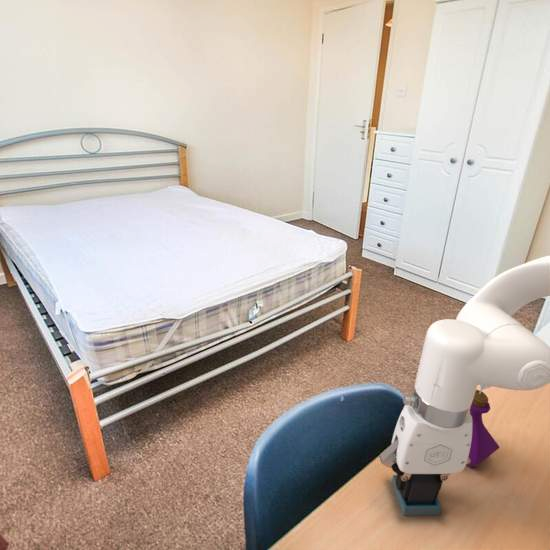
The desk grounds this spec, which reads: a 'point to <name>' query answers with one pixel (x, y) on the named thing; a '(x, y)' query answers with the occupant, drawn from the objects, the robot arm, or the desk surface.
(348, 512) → the desk surface
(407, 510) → the shallow rectangular tray
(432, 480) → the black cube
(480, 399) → the perfume bottle
